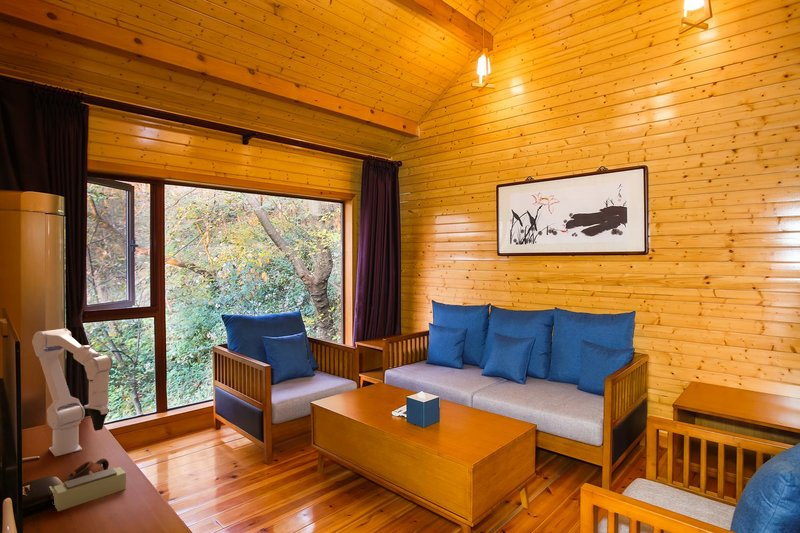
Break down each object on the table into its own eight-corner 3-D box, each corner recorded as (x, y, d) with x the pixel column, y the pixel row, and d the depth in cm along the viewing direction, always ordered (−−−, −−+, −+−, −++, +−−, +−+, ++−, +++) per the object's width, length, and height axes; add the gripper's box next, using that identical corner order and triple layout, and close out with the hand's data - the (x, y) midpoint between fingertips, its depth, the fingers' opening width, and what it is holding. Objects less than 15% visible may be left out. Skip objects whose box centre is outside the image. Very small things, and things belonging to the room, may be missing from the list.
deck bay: (48, 496, 130) (49, 477, 130) (114, 476, 143) (114, 459, 142) (58, 511, 123) (58, 491, 123) (125, 489, 135) (125, 470, 135)
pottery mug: (97, 495, 132) (80, 474, 130) (72, 506, 134) (55, 485, 132) (123, 467, 144) (108, 447, 142) (100, 477, 145) (84, 457, 143)
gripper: (79, 388, 157) (78, 427, 157) (91, 397, 147) (90, 438, 148) (102, 384, 162) (102, 422, 162) (115, 393, 153) (115, 432, 153)
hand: (98, 429), depth 155 cm, fingers closed
